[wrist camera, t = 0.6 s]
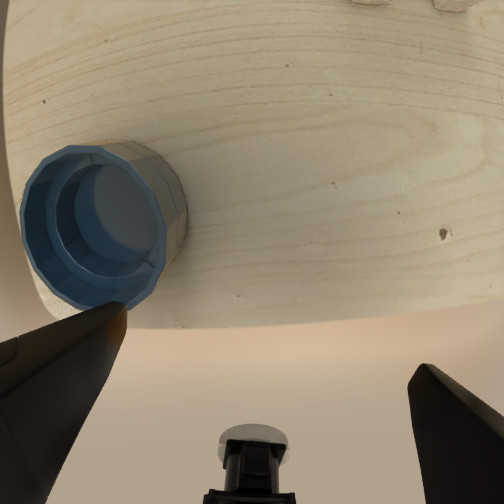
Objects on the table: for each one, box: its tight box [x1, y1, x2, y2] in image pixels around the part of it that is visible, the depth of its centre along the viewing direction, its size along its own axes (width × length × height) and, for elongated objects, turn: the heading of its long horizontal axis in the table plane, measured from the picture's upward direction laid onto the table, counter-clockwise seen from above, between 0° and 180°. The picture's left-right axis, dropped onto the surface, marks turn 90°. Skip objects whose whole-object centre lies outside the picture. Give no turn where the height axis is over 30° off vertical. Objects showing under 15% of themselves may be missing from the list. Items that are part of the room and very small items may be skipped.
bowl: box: [19, 140, 187, 311], centre depth 17 cm, size 9×9×5 cm
